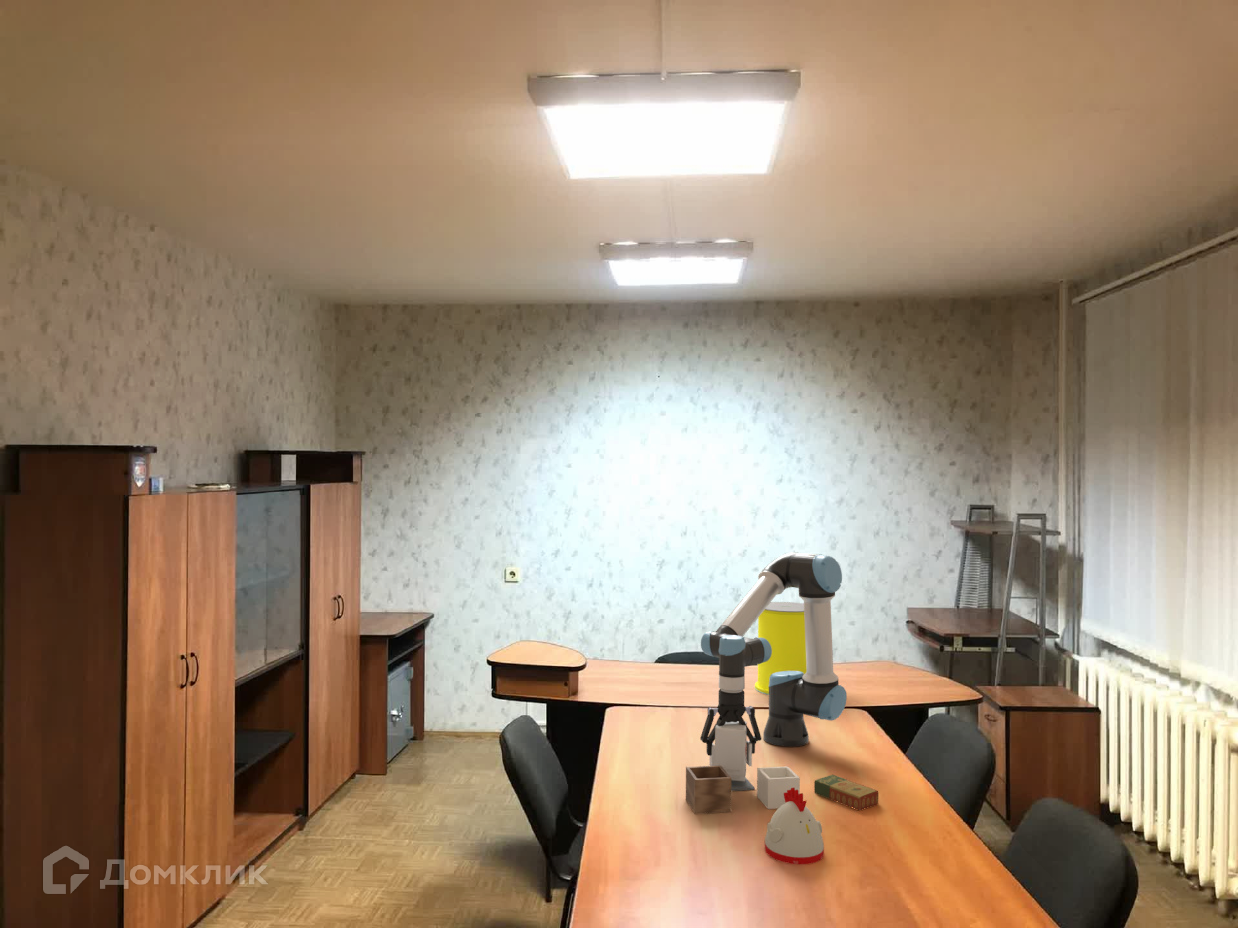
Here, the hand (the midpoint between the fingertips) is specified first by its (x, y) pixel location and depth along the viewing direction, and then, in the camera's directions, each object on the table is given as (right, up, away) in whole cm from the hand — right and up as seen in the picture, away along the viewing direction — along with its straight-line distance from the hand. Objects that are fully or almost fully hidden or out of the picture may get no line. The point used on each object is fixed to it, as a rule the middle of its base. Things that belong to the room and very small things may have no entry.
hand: (730, 765), depth 248 cm
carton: (+31, -6, -10) cm, 33 cm away
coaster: (0, -5, 0) cm, 5 cm away
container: (+38, -7, +111) cm, 117 cm away
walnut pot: (-8, -5, -17) cm, 19 cm away
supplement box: (0, -3, 0) cm, 3 cm away
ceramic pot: (+11, -5, -13) cm, 18 cm away
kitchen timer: (+9, -5, -44) cm, 45 cm away
